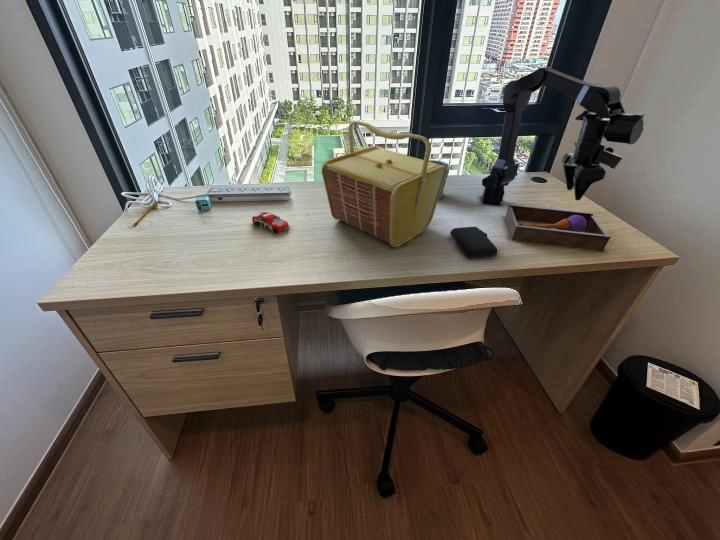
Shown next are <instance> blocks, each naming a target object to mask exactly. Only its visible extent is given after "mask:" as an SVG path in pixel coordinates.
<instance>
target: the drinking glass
mask: <svg viewBox="0 0 720 540" xmlns="http://www.w3.org/2000/svg"><path fill="white" fill-rule="evenodd" d="M429 162H432V163H436V164H439V165H444V166H446V167H447V173H446V176H445V179H444V183H443V186H442V189H441V192H440V195H439V198H438V200H440V199H442V197H443V194H444V190H445V187H446V182H447V179H448V176H449V172H450V170H451V169H450V168H451V165H450V164H449V163H447V162H445V161H441V160H436V159H431V160H430V159H429Z"/></svg>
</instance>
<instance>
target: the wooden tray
mask: <svg viewBox="0 0 720 540" xmlns="http://www.w3.org/2000/svg"><path fill="white" fill-rule="evenodd" d="M572 215H580V216H583V217H584V218H585V219H586V221H587V226H586V228H585V231H586V232H584V231H583V232H574V231H566V230H558V229H555V228H551V229H548V228H539V227H530V226H521V225H520V224H518V221H517V220H519V221H527V222H536V223H543V224H556V223H557V222H559V221H561V220H563V219H567V218H568V217H570V216H572ZM504 218H505V222H506V225H507V229H508V233H509V236H510V238H511V241H516V242H522V243H523V242H525V243H531V244H532V243H533V244H540V245H549V246H557V247H564V248H565V247H566V248H574V249H581V250H582V249H583V250H590V251H597V252H598V251H599V252H604V250H605V248H606V246H607V245H608V243H609V242H610V240H611V238H612V236H611V235H609V234H608V233H607V232H606V231H605V229H604V228H603V226H602V225H601V224H600V223H599V221H598V220H597V219H596V217H595V216H594V213H593V212H591V211H590V212H589V211H579V210H570V209H561V208H553V207H552V208H550V207H542V206H541V207H540V206H531V205H523V204H522V205H521V204H513V203H512V204H511V203H508V207H507V210H506V212H505V216H504Z"/></svg>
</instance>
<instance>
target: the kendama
mask: <svg viewBox="0 0 720 540" xmlns="http://www.w3.org/2000/svg"><path fill="white" fill-rule="evenodd" d="M519 225H521V226H530V227H539V228H548V229H557V230H566V231H574V232H583V233H584V231H586V229H585V228H586V226H587V221H586V219H585V218H584V217H583V216H580V215H572V216H570V217H568V218H567V219H563V220H561V221H559V222H557V223H556V224H553V223H520V224H519Z"/></svg>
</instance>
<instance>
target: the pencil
mask: <svg viewBox="0 0 720 540" xmlns="http://www.w3.org/2000/svg"><path fill="white" fill-rule="evenodd" d="M158 202H159V200H157V201H155V202H154V203H153V204H152V205H151V206H150V207H149V208H148V209H146V211H145V212H144V213H143V214H142V215H141V216H140V217H139V218H138V220H137V221H136V222H134V224H132V227H133V228H135V227H137V225H138V224H139V223H140V222H141V221H142V220H143V219H144V218H145V217H146V216H147V215H148V214H149V213H150V212H151V211H152V209H154V208H155V206H156V205H157V204H158Z"/></svg>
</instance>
